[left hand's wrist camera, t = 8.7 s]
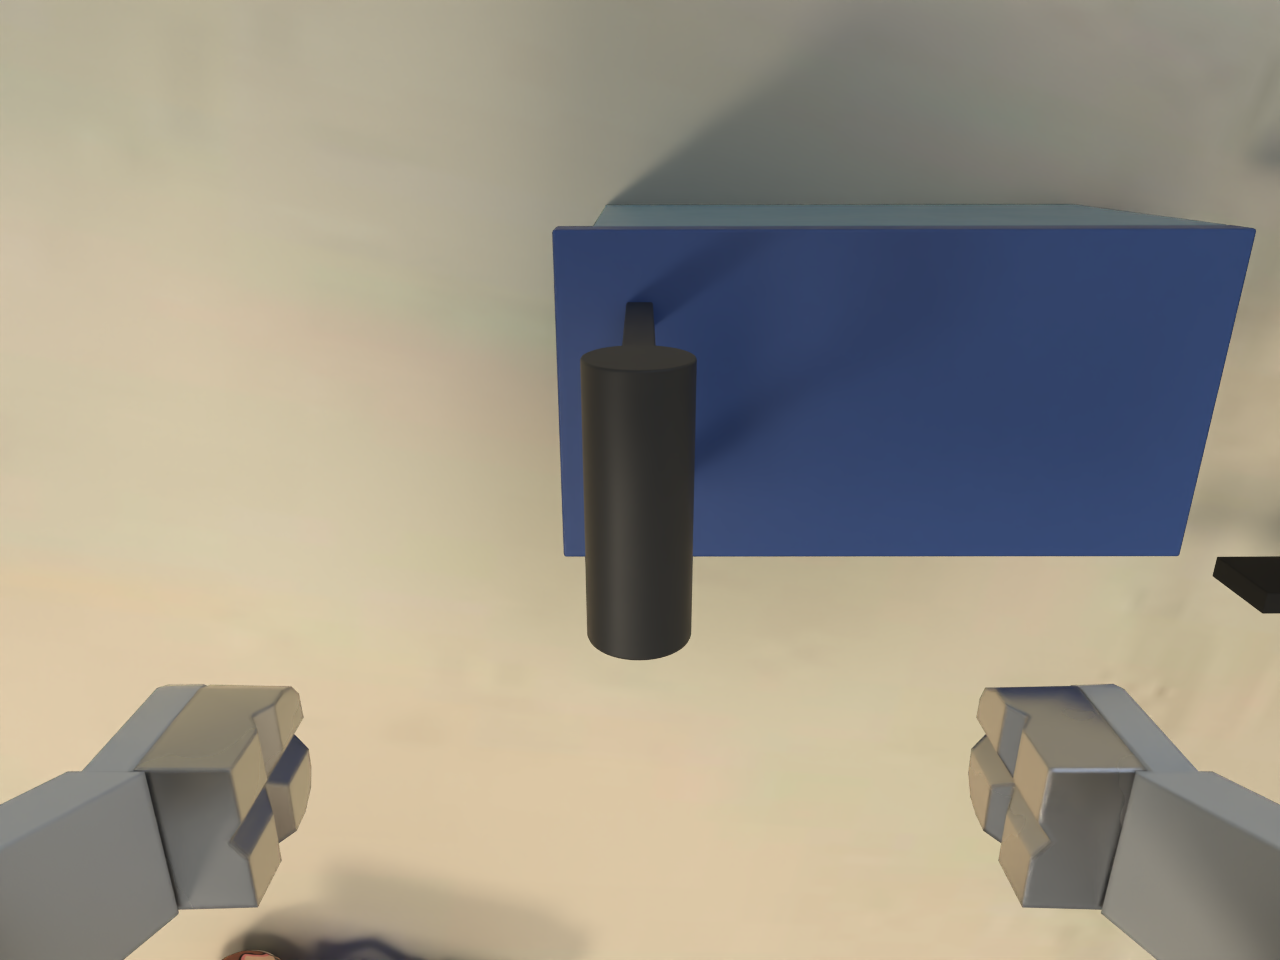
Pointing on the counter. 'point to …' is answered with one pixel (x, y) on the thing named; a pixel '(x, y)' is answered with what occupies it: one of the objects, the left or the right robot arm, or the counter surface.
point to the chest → (877, 215)
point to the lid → (877, 397)
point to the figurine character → (251, 955)
